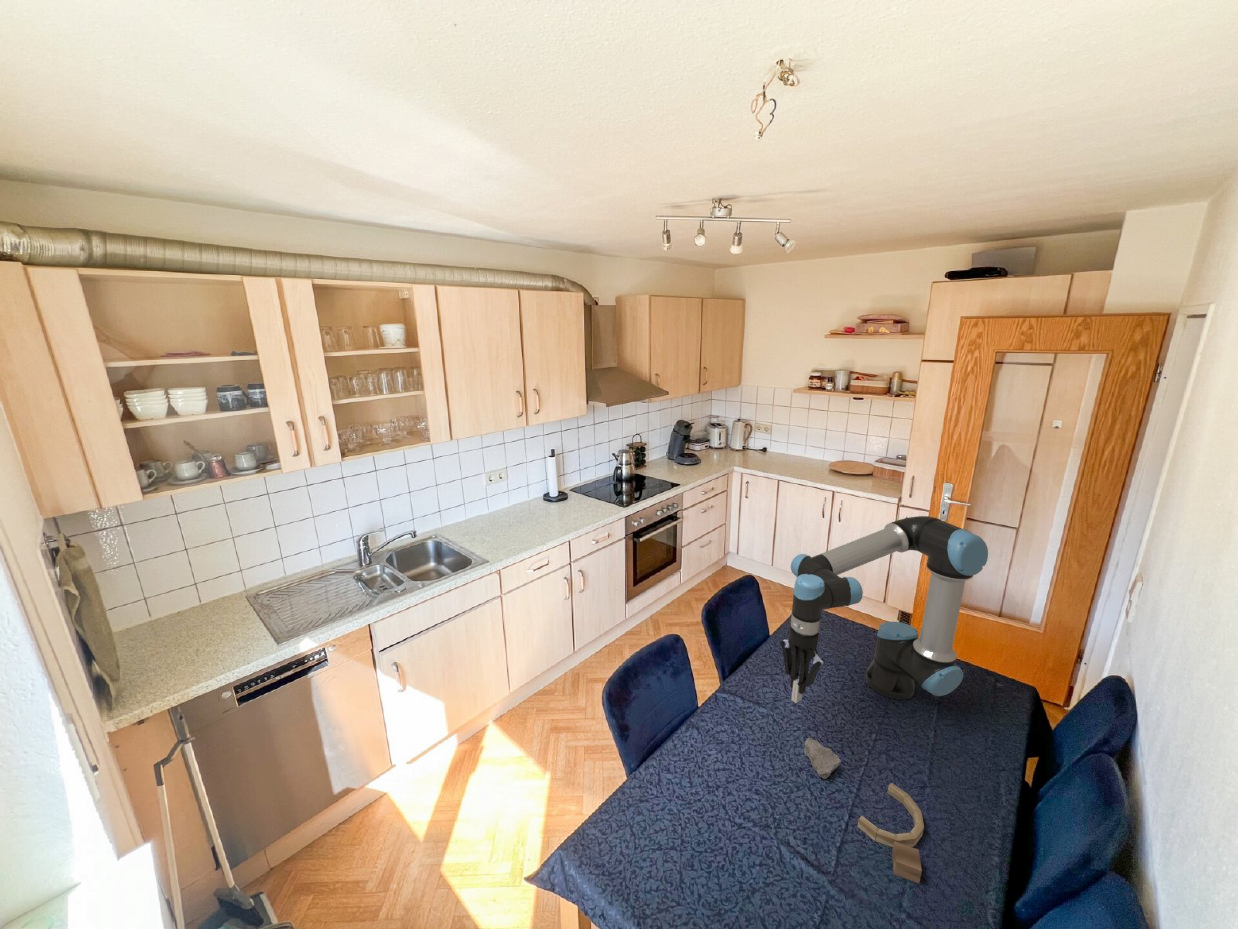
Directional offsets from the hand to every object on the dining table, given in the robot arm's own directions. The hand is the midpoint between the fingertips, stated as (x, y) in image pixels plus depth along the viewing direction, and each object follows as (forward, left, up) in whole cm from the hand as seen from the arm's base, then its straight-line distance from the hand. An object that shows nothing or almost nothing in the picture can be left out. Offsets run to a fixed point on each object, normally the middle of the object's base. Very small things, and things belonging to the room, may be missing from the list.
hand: (796, 699), depth 142 cm
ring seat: (0, +30, -16) cm, 34 cm away
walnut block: (+9, +37, -17) cm, 41 cm away
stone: (-1, +9, -17) cm, 19 cm away
